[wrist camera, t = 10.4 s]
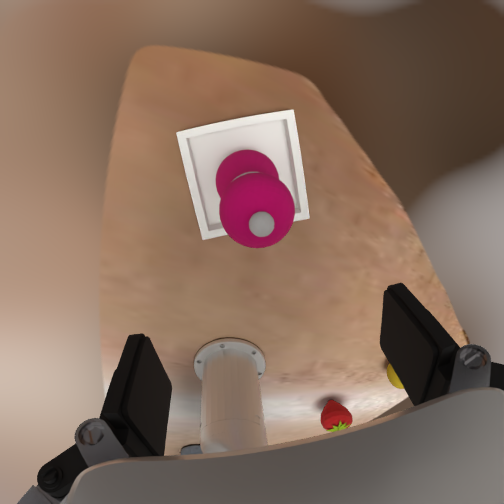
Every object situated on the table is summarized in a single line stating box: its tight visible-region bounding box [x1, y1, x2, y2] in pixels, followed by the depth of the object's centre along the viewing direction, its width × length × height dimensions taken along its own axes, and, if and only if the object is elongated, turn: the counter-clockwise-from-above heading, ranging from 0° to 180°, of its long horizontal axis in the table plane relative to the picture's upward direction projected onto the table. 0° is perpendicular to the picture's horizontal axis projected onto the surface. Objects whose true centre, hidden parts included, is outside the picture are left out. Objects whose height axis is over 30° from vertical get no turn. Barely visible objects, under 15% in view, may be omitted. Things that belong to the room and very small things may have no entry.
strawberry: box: [321, 400, 352, 432], centre depth 56 cm, size 6×8×10 cm
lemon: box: [387, 363, 404, 389], centre depth 54 cm, size 6×6×8 cm
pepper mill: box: [216, 150, 295, 248], centre depth 30 cm, size 7×7×20 cm
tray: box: [176, 110, 310, 240], centre depth 38 cm, size 14×14×3 cm
